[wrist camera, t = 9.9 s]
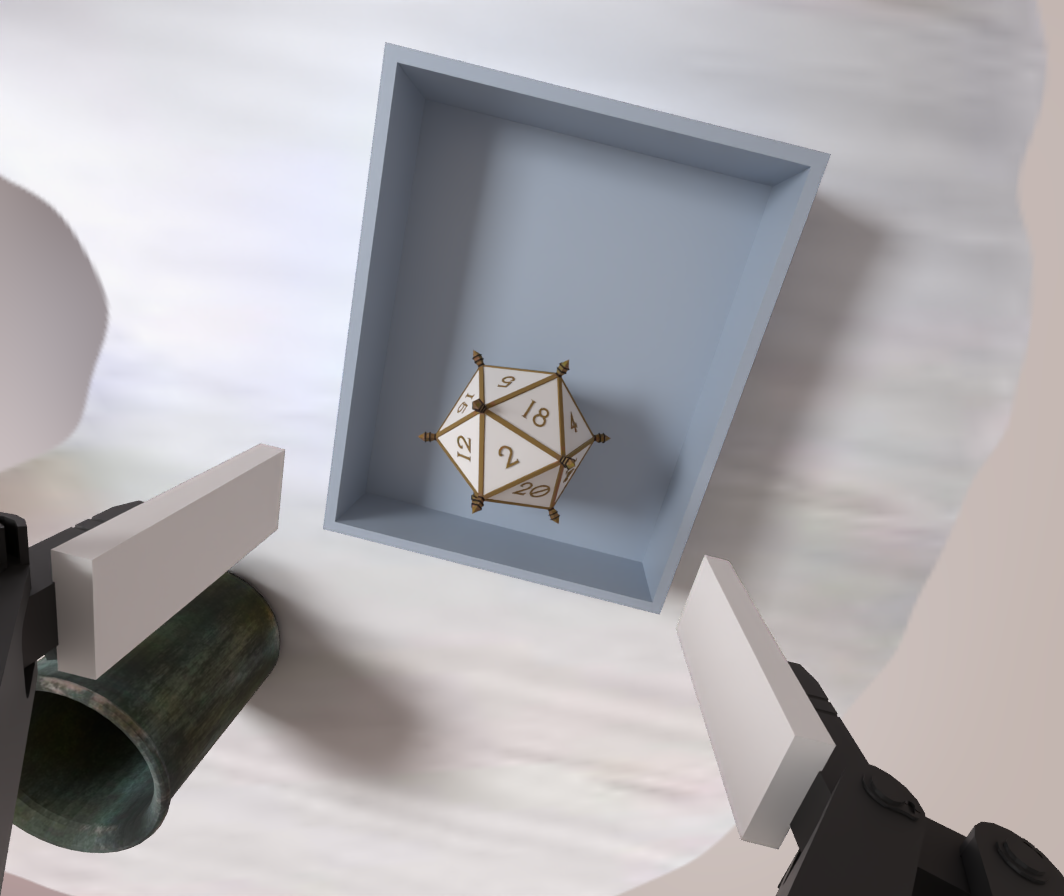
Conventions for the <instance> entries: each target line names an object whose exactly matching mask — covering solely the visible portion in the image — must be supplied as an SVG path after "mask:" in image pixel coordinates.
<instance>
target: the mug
mask: <svg viewBox="0 0 1064 896" xmlns="http://www.w3.org/2000/svg"><path fill="white" fill-rule="evenodd" d="M279 647H280V642H279V630H278V626H277V622H276V619H275V617H274V615H273V612H272V611H271V609H270V607H269V606H268V604H267V603H266V601H265V600H264V599H263V598H262V596H261V595H260V594H259V593H258V592H257V591H256V590H255V589H254V588H253V587H251V586H250V585H249V584H247V583H246V582H245V581H243V580H242V579H240V578H238V577H236V576H235V575H232V574H230V573H228V572H225V573H224V574H223V575H222V576H221V577H219V578H218V579H217V580H216V581H215V582H213V583H212V584H211V585H210V586H208V587H207V588H206V589H205V590H204V591H202V592H201V593H200V594H199V595H198V596H196V597H195V598H194V599H193V600H192V601H190V602H189V603H188V604H187V605H186V606H184V607H183V608H182V609H181V610H180V611H178V612H177V613H176V614H175V615H174V616H172V617H171V618H170V619H169V620H167V621H166V622H165V623H164V624H163V625H161V626H160V627H159V628H158V629H157V630H155V631H154V632H153V633H152V634H151V635H149V636H148V637H147V638H146V639H145V640H143V641H142V642H141V643H140V644H139V645H137V646H136V647H135V648H134V649H133V650H131V651H130V652H129V653H128V654H126V655H125V656H124V657H123V658H122V659H120V660H119V661H118V662H117V663H116V664H114V665H113V666H112V667H111V668H110V669H108V670H107V671H106V672H105V673H104V674H102V675H101V676H100V677H99V678H98V679H96V680H94V679H90V678H86V677H82V676H78V675H74V674H70V673H66V672H62V671H58V663H57V646H56V647H55V648H53V649H52V650H50V651H49V652H47V653H46V654H45V657H43V658H42V659H40V660H39V661H38V662H37V668H38V677H37V683H36V688H35V694H34V700H33V706H32V712H31V718H30V724H29V730H28V735H27V741H26V747H25V753H24V759H23V765H22V771H21V777H20V782H19V788H18V794H17V800H16V806H15V812H14V818H13V824H14V825H16V826H17V827H19V828H20V829H22V830H24V831H25V832H27V833H29V834H31V835H33V836H35V837H37V838H39V839H41V840H43V841H45V842H48V843H50V844H53V845H56V846H59V847H63V848H66V849H70V850H75V851H81V852H90V853H108V852H118V851H122V850H125V849H129V848H132V847H134V846H136V845H138V844H140V843H142V842H143V841H145V840H146V839H147V838H149V837H150V836H151V835H152V834H154V833H155V831H156V830H157V829H158V828H159V827H160V826H161V824H162V822H163V820H164V818H165V817H166V815H167V812H168V809H169V805H170V801H171V798H172V797H173V796H174V794H175V793H176V792H177V791H178V789H179V788H180V787H181V785H182V784H183V783H184V782H185V780H186V779H187V778H188V777H189V775H190V774H191V773H192V772H193V770H194V769H195V768H196V767H197V765H198V764H199V763H200V761H201V760H202V759H203V758H204V756H205V755H206V754H207V753H208V751H209V750H210V749H211V748H212V746H213V745H214V744H215V743H216V741H217V740H218V739H219V737H220V736H221V735H222V734H223V732H224V731H225V730H226V729H227V727H228V726H229V725H230V724H231V722H232V721H233V720H234V719H235V717H236V716H237V715H238V713H239V712H240V711H241V710H242V708H243V707H244V706H245V705H246V703H247V702H248V701H249V700H250V698H251V697H252V696H253V695H254V693H255V692H256V691H257V689H258V688H259V687H260V686H261V684H262V683H263V682H264V681H265V679H266V678H267V677H268V676H269V674H270V673H271V672H272V670H273V668H274V666H275V665H276V662H277V659H278V656H279Z"/></svg>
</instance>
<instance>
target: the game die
mask: <svg viewBox="0 0 1064 896" xmlns="http://www.w3.org/2000/svg"><path fill="white" fill-rule="evenodd" d="M481 355H482V354H480V353H478V352H476V351H475V350H473V358H472V359H473V360H474V361H475V362H474V363H475V364H477V365H478V369H477V371H476V372H475V374H474V375H473V377H472V378H471V380H470V382H469V383H468V385H467V386H466V388H465V389H464V391H463V392H462V394H461V396H460V397H459V399H458V400H457V402H456V403H455V405H454V406H453V408H452V410H451V411H450V413H449V414H448V416H447V417H446V419H445V420H444V422H443V424H442V425H441V427H440V428H439V430H438V431H437V433H436V434H433V433H431V432H429V433H426V432H425V433H423V434H421V435H419V436H417V437H419V438H420V439H422V440H423V441H425V443H426V442H427V441H430V442H431V441H433V440H436V441H437V442H438V444H439V445H440V447H441V448H442V449H443V451H444V452H445V453H446V455H447V456H448V457H449V459H450V460H451V462H452V463H453V464H454V466H455V467H456V468H457V470H458V471H459V473H460V474H461V475H462V477H463V478H464V479H465V481H466V482H467V484H468V485H469V486H470V488H471V489H472V490H473V495H471V500H472V503H471V508H472V514H473V513H475V512H477V511H481V510H482V507H483V506H484V504H483V503H484V501H487V502H494V503H502V504H509V505H517V506H524V507H531V508H539V509H546V510H548V511H549V515H548V516H550V518H551V519H550V520H553V521H554V522H556V523H558V524H559V516H560V515H559V514H558V513H557V512H558V511H557V510H555V509H554V506H555V504H556V502H557V501H558V499H559V498H560V496H561V494H562V493H563V491H564V489H565V488H566V486H567V485H568V483H569V481H570V480H571V478H572V476H573V475H574V473H575V472H576V470H577V468H578V467H579V465H580V463H581V462H582V460H583V459H584V457H585V455H586V454H587V452H588V450H589V449H590V447H591V446H592V444H593V442H594V441H596V442H598V443H600V442H602V443H605V442H606V441H608V440H609V439H611V438H610V437H608V436H607V435H605V434H604V433H603V434H600V433H598V434H597V435H594V434H593V433H592V431H591V429H590V427H589V425H588V424H587V422H586V420H585V418H584V416H583V415H582V413H581V411H580V409H579V407H578V406H577V404H576V402H575V400H574V398H573V396H572V395H571V393H570V391H569V389H568V387H567V386H566V384H565V382H564V380H563V378H562V376H563V375H564V374H567V373H566V372H567V371H568V370H570V369H569V360H567V361H565V362H561V363H559V367H557V372H556V373H555V372H546V371H537V370H528V369H519V368H510V367H501V366H492V365H485V364H484V362H483V360H484V358H482V356H481Z"/></svg>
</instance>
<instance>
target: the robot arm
mask: <svg viewBox="0 0 1064 896" xmlns="http://www.w3.org/2000/svg"><path fill="white" fill-rule="evenodd" d="M284 456H285V449H281V448H277V447H273V446H269V445H265V444H261V443H260V444H258V445H256V446H254V447H252V448H250V449H248V450H247V451H245V452H243V453H241V454H239V455H237V456H235V457H233V458H231V459H229V460H227V461H225V462H223V463H221V464H219V465H217V466H215V467H213V468H211V469H209V470H207V471H205V472H203V473H201V474H199V475H197V476H195V477H193V478H191V479H189V480H187V481H185V482H183V483H181V484H179V485H177V486H175V487H173V488H172V489H170V490H168V491H166V492H164V493H162V494H160V495H158V496H156V497H154V498H152V499H150V500H148V501H146V502H142V501H135V502H131V503H127V504H123V505H119V506H115V507H112V508H110V509H108V510H106V511H104V512H102V513H99V514H97V515H95V516H93V517H92V519H87V520H85V521H83V522H81V523H79V524H77V525H75V527H74V528H72V527H70V528H68V529H66V530H64V531H62V532H60V533H58V534H56V535H54V536H52V537H50V538H48V539H46V540H44V541H41V542H39V543H37V544H35V545H33V546H31V547H29V548H28V536H27V525H26V522H25V519H23V518H21V517H19V516H17V515H14V514H8V513H3V512H0V894H1V888H2V882H3V877H4V871H5V865H6V859H7V853H8V847H9V841H10V835H11V830H12V824H13V818H14V812H15V806H16V800H17V794H18V788H19V782H20V777H21V771H22V765H23V759H24V753H25V747H26V741H27V735H28V730H29V724H30V718H31V712H32V706H33V700H34V694H35V688H36V683H37V677H38V668H37V659H39V658H40V657H42V656H43V655H45V654H46V653H47V652H49V651H50V650H52V649H53V648H55V647H56V646H57V663H58V671H62V672H66V673H70V674H74V675H78V676H82V677H86V678H90V679H94V680H96V679H98V678H99V677H100V676H101V675H102V674H104V673H105V672H106V671H107V670H108V669H110V668H111V667H112V666H113V665H114V664H116V663H117V662H118V661H119V660H120V659H122V658H123V657H124V656H125V655H126V654H128V653H129V652H130V651H131V650H133V649H134V648H135V647H136V646H137V645H139V644H140V643H141V642H142V641H143V640H145V639H146V638H147V637H148V636H149V635H151V634H152V633H153V632H154V631H155V630H157V629H158V628H159V627H160V626H161V625H163V624H164V623H165V622H166V621H167V620H169V619H170V618H171V617H172V616H174V615H175V614H176V613H177V612H178V611H180V610H181V609H182V608H183V607H184V606H186V605H187V604H188V603H189V602H190V601H192V600H193V599H194V598H195V597H196V596H198V595H199V594H200V593H201V592H202V591H204V590H205V589H206V588H207V587H208V586H210V585H211V584H212V583H213V582H215V581H216V580H217V579H218V578H219V577H221V576H222V575H223V574H224V573H225V572H227V571H228V570H229V569H230V568H231V567H233V566H234V565H235V564H236V563H237V562H239V561H240V560H241V559H242V558H243V557H245V556H246V555H247V554H248V553H249V552H251V551H252V550H253V549H254V548H256V547H257V546H258V545H259V544H260V543H262V542H263V541H264V540H265V539H266V538H268V537H269V536H270V535H271V534H272V533H274V532H275V531H276V530H277V529H278V520H279V509H280V499H281V488H282V478H283V467H284ZM676 631H677V634H678V637H679V641H680V644H681V647H682V650H683V654H684V657H685V660H686V663H687V667H688V670H689V673H690V676H691V680H692V683H693V686H694V689H695V693H696V696H697V699H698V702H699V706H700V709H701V712H702V715H703V719H704V722H705V725H706V728H707V732H708V735H709V738H710V741H711V745H712V748H713V751H714V754H715V758H716V761H717V764H718V767H719V770H720V774H721V777H722V780H723V783H724V787H725V790H726V793H727V796H728V800H729V803H730V806H731V809H732V813H733V816H734V819H735V822H736V826H737V829H738V832H739V835H740V839H741V840H743V841H747V842H751V843H755V844H759V845H763V846H767V847H771V848H775V849H779V847H780V846H781V844H782V842H783V840H784V838H785V836H786V835H787V833H788V831H789V829H790V827H791V829H792V832H793V834H794V837H795V839H796V842H797V844H798V846H799V850H798V852H797V854H796V855H795V857H794V859H793V861H792V863H791V864H790V866H789V868H788V869H787V871H786V873H785V875H784V876H783V878H782V880H781V882H780V884H779V885H778V888H779V890H778V892H777V894H776V896H1064V877H1063V875H1062V874H1061V873H1060V871H1059V870H1057V868H1056V867H1055V866H1054V865H1053V864H1052V863H1051V862H1050V861H1049V859H1048V858H1047V857H1046V856H1045V855H1044V854H1043V853H1042V852H1041V851H1039V850H1038V849H1037V848H1035V847H1034V846H1033V845H1032V844H1031V843H1029V842H1028V841H1027V840H1025V839H1023V838H1021V837H1019V836H1018V835H1016V834H1015V833H1013V832H1012V831H1010V830H1008V829H1006V828H1003V827H1001V826H999V825H996V824H994V823H988V822H980V823H978V824H977V825H975V826H974V828H973V829H972V830H971V832H970V833H969V835H968V836H967V837H965V836H963V835H961V834H959V833H957V832H955V831H953V830H951V829H949V828H947V827H945V826H943V825H941V824H939V823H937V822H935V821H933V820H931V819H929V818H927V817H925V813H924V811H923V809H922V807H921V806H920V804H919V802H918V801H917V799H916V798H915V797H914V796H913V795H912V794H911V793H910V792H909V790H908V789H907V788H906V787H905V786H904V785H902V784H901V783H900V782H899V781H897V780H896V779H895V778H894V777H892V776H891V775H890V774H888V773H886V772H884V771H883V770H881V769H879V768H877V767H876V766H872V765H870V764H869V763H868V762H867V760H866V759H865V757H864V755H863V754H862V752H861V751H860V749H859V747H858V746H857V744H856V743H855V741H854V739H853V738H852V736H851V735H850V733H849V731H848V730H847V728H846V727H845V725H844V723H843V722H842V720H841V719H840V717H837V712H836V711H835V709H834V707H833V706H832V704H831V703H830V702H828V698H827V696H826V695H825V693H824V691H823V690H822V688H821V687H820V685H819V683H818V682H817V681H816V680H815V679H814V678H813V677H812V676H811V675H810V674H809V673H808V672H807V671H806V670H805V669H804V668H803V667H802V666H801V665H800V664H797V663H793V662H789V661H787V660H786V658H785V657H784V655H783V653H782V651H781V650H780V648H779V646H778V645H777V643H776V641H775V639H774V638H773V636H772V634H771V632H770V631H769V629H768V627H767V626H766V624H765V622H764V620H763V619H762V617H761V615H760V613H759V612H758V610H757V608H756V607H755V605H754V603H753V601H752V600H751V598H750V596H749V594H748V593H747V591H746V589H745V588H744V586H743V584H742V582H741V581H740V579H739V577H738V575H737V574H736V572H735V570H734V569H733V567H732V565H731V563H730V562H729V561H728V560H724V559H720V558H716V557H712V556H708V555H704V558H703V560H702V563H701V565H700V568H699V570H698V573H697V576H696V578H695V581H694V583H693V586H692V588H691V591H690V593H689V596H688V599H687V601H686V604H685V606H684V609H683V611H682V614H681V617H680V619H679V622H678V624H677V627H676Z"/></svg>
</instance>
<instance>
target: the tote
mask: <svg viewBox="0 0 1064 896" xmlns="http://www.w3.org/2000/svg"><path fill="white" fill-rule="evenodd" d="M830 155H831V154H828V153H824V152H820V151H816V150H812V149H808V148H804V147H800V146H796V145H792V144H788V143H784V142H780V141H776V140H772V139H768V138H764V137H760V136H756V135H752V134H748V133H744V132H740V131H736V130H732V129H728V128H724V127H720V126H716V125H712V124H708V123H704V122H700V121H696V120H693V119H689V118H685V117H681V116H677V115H673V114H669V113H665V112H661V111H657V110H653V109H649V108H645V107H641V106H637V105H633V104H629V103H625V102H621V101H617V100H613V99H609V98H605V97H601V96H597V95H593V94H589V93H585V92H581V91H577V90H573V89H569V88H565V87H561V86H557V85H553V84H549V83H546V82H542V81H538V80H534V79H530V78H526V77H522V76H518V75H514V74H510V73H506V72H502V71H498V70H494V69H490V68H486V67H482V66H478V65H474V64H470V63H466V62H462V61H458V60H454V59H450V58H446V57H442V56H438V55H434V54H430V53H426V52H422V51H418V50H414V49H410V48H406V47H402V46H398V45H395V44H391V43H387V42H385V49H384V57H383V65H382V72H381V80H380V88H379V96H378V104H377V112H376V119H375V127H374V135H373V143H372V151H371V158H370V166H369V174H368V182H367V190H366V197H365V205H364V213H363V221H362V229H361V237H360V244H359V252H358V260H357V268H356V276H355V283H354V291H353V299H352V307H351V315H350V323H349V330H348V338H347V346H346V354H345V362H344V369H343V377H342V385H341V393H340V401H339V408H338V416H337V424H336V432H335V440H334V448H333V455H332V463H331V471H330V479H329V487H328V494H327V502H326V510H325V518H324V526H323V529H326V530H330V531H333V532H337V533H341V534H345V535H349V536H353V537H357V538H361V539H365V540H369V541H373V542H377V543H381V544H385V545H389V546H392V547H396V548H400V549H404V550H408V551H412V552H416V553H420V554H424V555H428V556H432V557H436V558H440V559H444V560H448V561H451V562H455V563H459V564H463V565H467V566H471V567H475V568H479V569H483V570H487V571H491V572H495V573H499V574H503V575H507V576H510V577H514V578H518V579H522V580H526V581H530V582H534V583H538V584H542V585H546V586H550V587H554V588H558V589H562V590H566V591H569V592H573V593H577V594H581V595H585V596H589V597H593V598H597V599H601V600H605V601H609V602H613V603H617V604H621V605H625V606H628V607H632V608H636V609H640V610H644V611H648V612H652V613H656V614H660V612H661V610H662V607H663V604H664V601H665V599H666V596H667V593H668V591H669V588H670V585H671V583H672V580H673V577H674V575H675V572H676V569H677V567H678V564H679V561H680V558H681V556H682V553H683V550H684V548H685V545H686V542H687V540H688V537H689V534H690V532H691V529H692V526H693V523H694V521H695V518H696V515H697V513H698V510H699V507H700V505H701V502H702V499H703V497H704V494H705V491H706V489H707V486H708V483H709V480H710V478H711V475H712V472H713V470H714V467H715V464H716V462H717V459H718V456H719V454H720V451H721V448H722V445H723V443H724V440H725V437H726V435H727V432H728V429H729V427H730V424H731V421H732V419H733V416H734V413H735V411H736V408H737V405H738V402H739V400H740V397H741V394H742V392H743V389H744V386H745V384H746V381H747V378H748V376H749V373H750V370H751V367H752V365H753V362H754V359H755V357H756V354H757V351H758V349H759V346H760V343H761V341H762V338H763V335H764V333H765V330H766V327H767V324H768V322H769V319H770V316H771V314H772V311H773V308H774V306H775V303H776V300H777V298H778V295H779V292H780V289H781V287H782V284H783V281H784V279H785V276H786V273H787V271H788V268H789V265H790V263H791V260H792V257H793V255H794V252H795V249H796V246H797V244H798V241H799V238H800V236H801V233H802V230H803V228H804V225H805V222H806V220H807V217H808V214H809V211H810V209H811V206H812V203H813V201H814V198H815V195H816V193H817V190H818V187H819V185H820V182H821V179H822V177H823V174H824V171H825V168H826V166H827V163H828V160H829V158H830ZM473 350H475V351H476V352H478V353H480V354H482V355H481V356H482V358H484V360H483V362H484V364H485V365H492V366H501V367H510V368H519V369H528V370H537V371H546V372H555V373H556V372H557V367H559V363H561V362H565V361H567V360H569V369H570V370H568V371H567V372H566V373H567V374H564V375H563V376H562V378H563V380H564V382H565V384H566V386H567V387H568V389H569V391H570V393H571V395H572V396H573V398H574V400H575V402H576V404H577V406H578V407H579V409H580V411H581V413H582V415H583V416H584V418H585V420H586V422H587V424H588V425H589V427H590V429H591V431H592V433H593V434H594V435H597V434H598V433H600V434H603V433H604V434H605V435H607V436H608V437H610V438H611V439H609V440H608V441H606V442H605V443H602V442H600V443H598V442H596V441H594V442H593V444H592V446H591V447H590V449H589V450H588V452H587V454H586V455H585V457H584V459H583V460H582V462H581V463H580V465H579V467H578V468H577V470H576V472H575V473H574V475H573V476H572V478H571V480H570V481H569V483H568V485H567V486H566V488H565V489H564V491H563V493H562V494H561V496H560V498H559V499H558V501H557V502H556V504H555V506H554V509H555V510H557V511H558V512H557V513H558V514H559V515H560V516H559V524H558V523H556V522H554V521H553V520H550V519H551V518H550V516H548V515H549V511H548V510H546V509H539V508H531V507H524V506H517V505H509V504H502V503H494V502H487V501H484V503H483V504H484V506H483V507H482V510H481V511H477V512H475V513H473V514H472V508H471V503H472V500H471V495H473V490H472V489H471V488H470V486H469V485H468V484H467V482H466V481H465V479H464V478H463V477H462V475H461V474H460V473H459V471H458V470H457V468H456V467H455V466H454V464H453V463H452V462H451V460H450V459H449V457H448V456H447V455H446V453H445V452H444V451H443V449H442V448H441V447H440V445H439V444H438V442H437V441H436V440H433V441H431V442H430V441H427V442H426V443H425V441H423V440H422V439H420V438H419V437H417V436H419V435H421V434H423V433H425V432H426V433H429V432H431V433H433V434H436V433H437V431H438V430H439V428H440V427H441V425H442V424H443V422H444V420H445V419H446V417H447V416H448V414H449V413H450V411H451V410H452V408H453V406H454V405H455V403H456V402H457V400H458V399H459V397H460V396H461V394H462V392H463V391H464V389H465V388H466V386H467V385H468V383H469V382H470V380H471V378H472V377H473V375H474V374H475V372H476V371H477V369H478V365H477V364H475V363H474V362H475V361H474V360H473V359H472V358H473Z"/></svg>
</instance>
